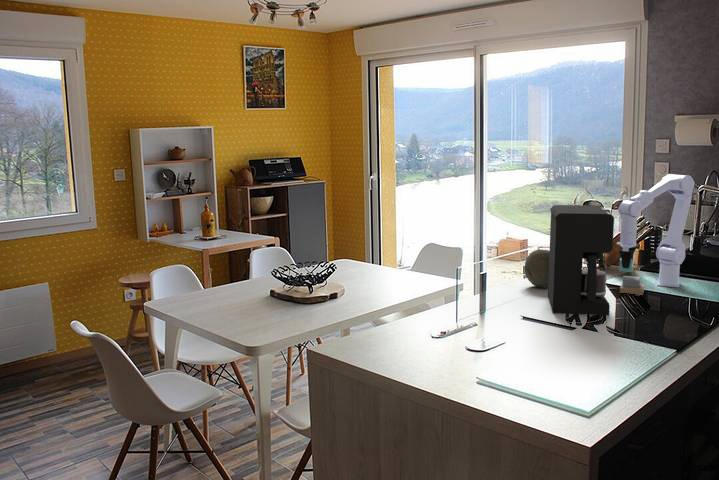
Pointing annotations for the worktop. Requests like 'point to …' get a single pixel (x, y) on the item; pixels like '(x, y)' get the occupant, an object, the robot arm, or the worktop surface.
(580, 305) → the coffee maker
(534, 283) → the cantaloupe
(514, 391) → the worktop surface
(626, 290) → the walnut slab
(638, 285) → the grey square block
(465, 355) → the worktop surface
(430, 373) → the worktop surface
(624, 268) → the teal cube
